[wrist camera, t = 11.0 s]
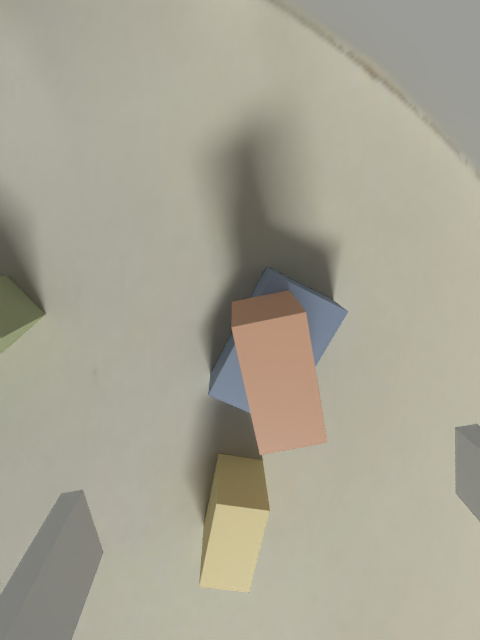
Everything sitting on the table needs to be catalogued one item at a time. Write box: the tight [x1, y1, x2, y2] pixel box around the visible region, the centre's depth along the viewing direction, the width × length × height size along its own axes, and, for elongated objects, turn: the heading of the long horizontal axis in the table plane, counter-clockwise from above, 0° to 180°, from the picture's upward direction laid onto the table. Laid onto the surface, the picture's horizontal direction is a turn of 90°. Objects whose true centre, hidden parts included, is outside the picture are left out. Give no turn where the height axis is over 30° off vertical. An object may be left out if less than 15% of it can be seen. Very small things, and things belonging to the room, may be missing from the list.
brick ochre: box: [199, 454, 270, 592], centre depth 31 cm, size 8×4×6 cm, turn 169°
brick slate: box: [208, 267, 348, 413], centre depth 28 cm, size 10×6×4 cm, turn 153°
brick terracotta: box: [231, 290, 327, 455], centre depth 23 cm, size 8×4×6 cm, turn 12°
